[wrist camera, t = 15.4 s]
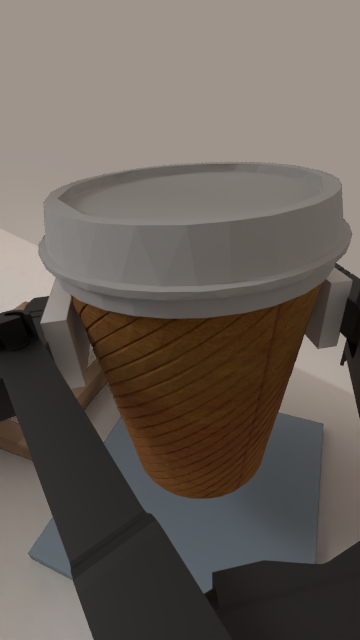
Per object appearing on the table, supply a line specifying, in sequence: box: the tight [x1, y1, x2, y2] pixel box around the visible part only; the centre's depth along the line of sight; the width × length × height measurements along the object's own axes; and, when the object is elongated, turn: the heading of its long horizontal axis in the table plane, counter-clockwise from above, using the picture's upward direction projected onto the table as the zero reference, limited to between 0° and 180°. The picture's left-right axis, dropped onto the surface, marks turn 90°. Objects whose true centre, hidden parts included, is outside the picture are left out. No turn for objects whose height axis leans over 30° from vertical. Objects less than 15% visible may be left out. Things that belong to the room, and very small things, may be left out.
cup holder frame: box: [0, 302, 107, 461], centre depth 29 cm, size 14×14×2 cm
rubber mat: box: [28, 413, 323, 593], centre depth 19 cm, size 13×13×1 cm
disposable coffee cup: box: [39, 162, 352, 499], centre depth 13 cm, size 10×10×12 cm
